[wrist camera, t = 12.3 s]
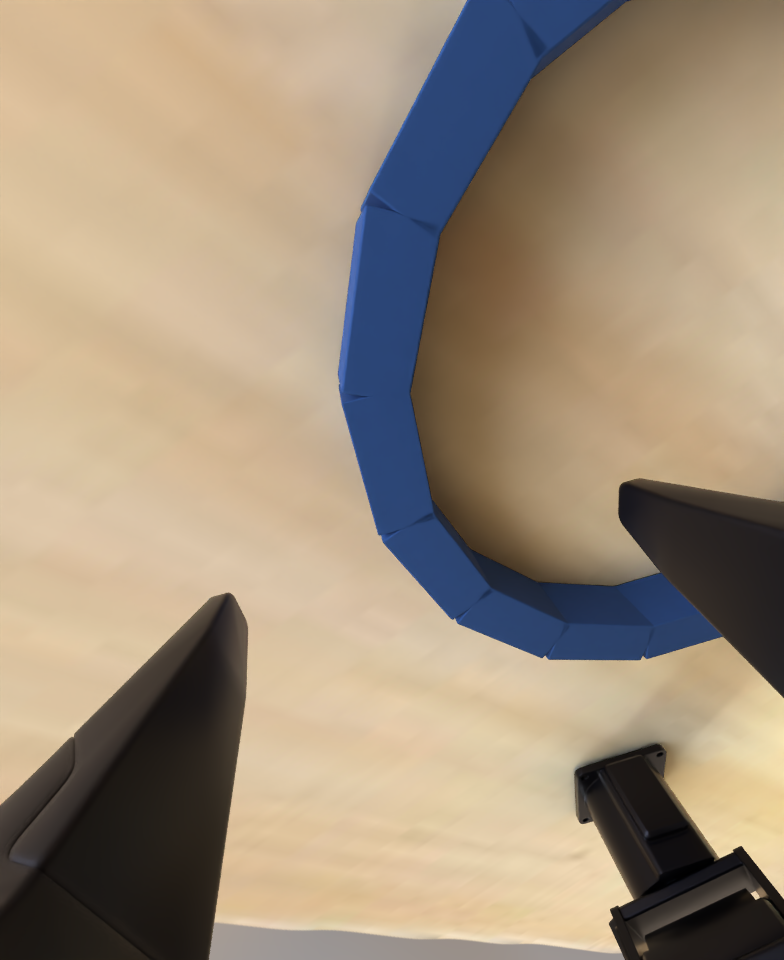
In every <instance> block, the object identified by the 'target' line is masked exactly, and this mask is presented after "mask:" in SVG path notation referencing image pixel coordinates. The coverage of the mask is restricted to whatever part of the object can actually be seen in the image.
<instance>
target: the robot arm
mask: <svg viewBox="0 0 784 960" xmlns="http://www.w3.org/2000/svg"><path fill="white" fill-rule="evenodd" d="M618 514H619V519H620V521H621V523H622V525H623V526H624V527H625V529H626V530H627V531H628V532H629V534H630V535H631V536H632V537H633V539H634V540H635V541H636V542H637V544H638V545H639V546H640V547H641V549H642V550H643V551H644V552H645V554H646V555H647V556H648V557H649V559H650V560H651V561H652V562H653V564H654V565H655V566H656V567H657V568H658V570H659V571H660V572H661V573H662V574H663V575H664V576H665V577H666V579H667V580H668V581H669V582H670V583H671V584H672V585H673V586H674V587H675V588H676V589H677V590H678V591H679V592H680V593H681V594H682V595H683V596H684V597H685V598H686V599H687V600H688V601H689V602H690V603H691V604H692V605H693V606H694V607H695V608H696V609H697V610H698V611H699V612H700V613H701V614H702V615H703V616H704V617H705V618H706V619H707V620H708V621H709V622H710V624H711V625H712V626H713V627H714V628H715V629H716V630H717V631H718V632H719V633H720V634H721V635H722V636H723V637H724V638H725V639H726V640H727V641H728V642H729V643H730V644H731V645H732V646H733V647H734V648H735V649H736V650H737V651H738V652H739V653H740V654H741V655H742V656H743V657H744V658H745V659H746V660H747V661H748V662H749V663H750V664H751V665H752V666H753V667H754V668H755V669H756V670H757V671H758V672H759V673H760V674H761V675H762V676H763V677H764V678H765V679H766V680H767V681H768V682H769V683H770V685H771V686H772V687H773V688H774V689H775V690H776V691H777V692H778V693H779V694H780V695H781V696H782V697H783V698H784V502H778V501H772V500H766V499H760V498H754V497H748V496H742V495H736V494H730V493H724V492H718V491H712V490H706V489H700V488H694V487H688V486H682V485H677V484H671V483H665V482H659V481H653V480H647V479H640V478H639V479H634V480H631V481H627V482H624V483H622V484H621V485H620V487H619V507H618ZM247 647H248V626H247V622H246V619H245V617H244V615H243V613H242V611H241V609H240V607H239V605H238V603H237V601H236V599H235V597H234V596H233V595H232V594H231V593H225V594H221V595H218V596H214V597H212V598H210V599H209V600H208V601H207V602H206V603H205V604H204V605H203V606H202V607H201V608H200V609H199V610H198V611H197V612H196V613H195V614H194V615H193V616H192V617H191V618H190V619H189V620H188V621H187V622H186V623H185V624H184V625H183V626H182V627H181V628H180V629H179V630H178V631H177V632H176V633H175V634H174V635H173V636H172V637H171V638H170V639H169V640H168V641H167V642H166V643H165V644H164V645H163V646H162V647H161V648H160V649H159V650H158V651H157V652H156V653H155V654H154V655H153V656H152V657H151V658H150V659H149V660H148V661H147V662H146V663H145V664H144V665H143V666H142V667H141V668H140V669H139V670H138V671H137V672H136V673H135V674H134V675H133V676H132V677H131V678H130V679H129V680H128V681H127V682H126V683H125V684H124V685H123V686H122V687H121V688H120V689H119V690H118V691H117V692H116V693H115V694H114V695H113V696H112V697H111V698H110V699H109V700H108V701H107V702H106V703H105V704H104V705H103V706H102V707H101V708H100V709H99V710H98V711H97V712H96V713H95V714H94V715H93V716H92V717H91V718H90V719H89V720H88V721H87V722H86V723H85V724H84V725H83V726H82V727H81V728H80V729H79V730H78V731H77V732H76V733H75V734H74V737H71V738H69V739H68V740H67V741H66V742H65V743H64V744H63V745H62V746H61V747H60V748H59V749H58V750H57V751H56V752H55V753H54V754H53V755H52V756H51V757H50V758H49V759H48V760H47V761H46V762H45V763H44V764H43V765H42V766H41V767H40V768H39V769H38V770H37V771H36V772H35V773H34V774H33V775H32V776H31V777H30V778H29V779H28V780H27V781H26V782H25V783H24V784H23V785H22V786H21V787H20V788H18V789H17V790H16V791H15V792H14V793H13V794H12V795H11V796H10V797H9V798H8V799H7V800H6V801H4V802H3V803H2V804H1V805H0V960H209V954H210V947H211V940H212V933H213V926H214V919H215V912H216V905H217V898H218V891H219V884H220V877H221V870H222V863H223V856H224V849H225V842H226V834H227V827H228V820H229V813H230V806H231V799H232V792H233V785H234V778H235V771H236V764H237V757H238V750H239V743H240V736H241V729H242V722H243V715H244V708H245V699H246V685H247ZM665 761H666V750H665V749H664V748H663V746H662V745H661V744H656V745H653V746H650V747H646V748H643V749H640V750H637V751H633V752H630V753H627V754H624V755H620V756H617V757H614V758H611V759H607V760H604V761H601V762H598V763H594V764H591V765H588V766H585V767H581V768H579V769H577V770H576V771H575V774H574V775H575V797H576V816H577V818H578V820H579V822H580V823H581V824H585V823H589V822H592V821H594V823H595V825H596V827H597V829H598V831H599V833H600V835H601V837H602V839H603V841H604V843H605V845H606V847H607V849H608V850H609V852H610V854H611V856H612V858H613V860H614V862H615V864H616V866H617V868H618V870H619V872H620V874H621V876H622V878H623V880H624V882H625V884H626V886H627V887H628V889H629V891H630V893H631V895H632V897H633V899H634V900H633V901H631V902H629V903H627V904H625V905H623V906H621V907H619V906H616V907H614V908H612V909H610V911H611V914H612V916H613V919H612V920H611V921H610V922H609V925H610V927H611V929H612V932H613V934H614V936H615V938H616V941H617V943H618V945H619V947H620V949H621V952H622V954H623V956H624V958H625V960H784V899H783V898H782V896H781V895H780V894H779V893H778V891H777V890H776V889H775V888H774V886H773V885H772V884H771V883H770V881H769V880H768V879H767V878H766V876H765V875H764V874H763V873H762V871H761V870H760V869H759V868H758V866H757V865H756V864H755V863H754V861H753V860H752V859H751V858H750V856H749V855H748V854H747V852H746V851H745V850H744V849H743V847H742V846H740V847H738V848H736V849H734V850H733V851H734V852H733V853H731V854H728V855H726V856H724V857H722V858H719V857H718V856H717V854H716V853H715V851H714V850H713V848H712V847H711V846H710V844H709V843H708V841H707V840H706V839H705V837H704V836H703V834H702V833H701V831H700V830H699V829H698V827H697V826H696V824H695V823H694V821H693V820H692V819H691V817H690V816H689V814H688V813H687V811H686V810H685V809H684V807H683V806H682V804H681V803H680V801H679V800H678V799H677V797H676V796H675V794H674V793H673V791H672V790H671V789H670V787H669V786H668V784H667V783H666V782H665V780H664V779H663V778H664V769H665ZM754 891H756V892H757V893H758V895H759V896H760V898H759V899H757V900H755V899H754V897H753V896H752V895H751V894H750V893H752V892H754Z"/></svg>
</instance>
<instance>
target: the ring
mask: <svg viewBox="0 0 784 960" xmlns="http://www.w3.org/2000/svg"><path fill="white" fill-rule="evenodd" d="M626 1H630V0H467V2H466V4H465V6H464V8H463V10H462V11H461V13H460V15H459V17H458V19H457V21H456V23H455V25H454V27H453V29H452V31H451V33H450V35H449V37H448V38H447V40H446V42H445V44H444V46H443V48H442V50H441V52H440V54H439V56H438V58H437V60H436V62H435V64H434V65H433V67H432V69H431V71H430V73H429V75H428V77H427V79H426V81H425V83H424V85H423V87H422V89H421V91H420V92H419V94H418V96H417V98H416V100H415V102H414V104H413V106H412V108H411V110H410V112H409V114H408V116H407V118H406V119H405V121H404V123H403V125H402V127H401V129H400V131H399V133H398V135H397V137H396V139H395V141H394V143H393V145H392V146H391V148H390V150H389V152H388V154H387V156H386V158H385V160H384V162H383V164H382V166H381V168H380V170H379V172H378V173H377V175H376V177H375V179H374V181H373V183H372V185H371V187H370V189H369V191H368V193H367V196H366V198H365V200H364V202H363V204H362V206H361V212H362V213H361V215H360V217H359V219H358V221H357V223H356V229H355V237H354V246H353V254H352V262H351V271H350V279H349V287H348V296H347V304H346V312H345V321H344V329H343V337H342V345H341V354H340V362H339V370H338V377H339V382H340V384H339V391H340V396H341V402H342V407H343V410H344V414H345V417H346V421H347V424H348V428H349V432H350V435H351V439H352V442H353V446H354V449H355V453H356V457H357V460H358V464H359V467H360V471H361V474H362V478H363V482H364V485H365V489H366V492H367V496H368V499H369V503H370V507H371V510H372V514H373V517H374V521H375V525H376V528H377V532H378V535H381V536H382V540H383V543H384V544H385V545H386V546H387V548H388V549H389V550H390V551H391V552H392V553H393V554H394V555H395V557H396V558H397V559H398V560H399V561H400V562H401V563H402V564H403V566H404V567H405V568H406V569H407V570H408V571H409V572H410V573H411V575H412V576H413V577H414V578H415V579H416V580H417V581H418V582H419V584H420V585H421V586H422V587H423V588H424V589H425V590H426V591H427V593H428V594H429V595H430V596H431V597H432V598H433V599H434V600H435V601H436V603H437V604H438V605H439V606H440V607H441V608H442V609H443V610H444V612H445V613H446V614H447V615H448V616H449V617H450V618H451V619H454V618H455V619H456V621H457V623H458V624H460V625H462V626H465V627H467V628H470V629H472V630H474V631H477V632H479V633H482V634H484V635H487V636H489V637H491V638H494V639H496V640H499V641H501V642H504V643H506V644H509V645H511V646H513V647H516V648H518V649H521V650H523V651H526V652H528V653H531V654H533V655H535V656H538V657H540V658H543V657H544V656H545V655H546V657H547V658H548V659H549V660H641V658H642V656H644V657H645V658H646V659H649V658H652V657H656V656H659V655H662V654H666V653H669V652H672V651H676V650H679V649H683V648H686V647H689V646H693V645H696V644H699V643H703V642H706V641H709V640H713V639H716V638H720V637H723V636H722V635H721V634H720V633H719V632H718V631H717V630H716V629H715V628H714V627H713V626H712V625H711V624H710V622H709V621H708V620H707V619H706V618H705V617H704V616H703V615H702V614H701V613H700V612H699V611H698V610H697V609H696V608H695V607H694V606H693V605H692V604H691V603H690V602H689V601H688V600H687V599H686V598H685V597H684V596H683V595H682V594H681V593H680V592H679V591H678V590H677V589H676V588H675V587H674V586H673V585H672V584H671V583H670V582H669V581H668V580H667V579H666V577H665V576H664V575H663V574H662V573H659V574H655V575H652V576H648V577H645V578H641V579H638V580H634V581H631V582H627V583H624V584H620V585H617V586H600V585H581V584H561V583H541V582H536V581H534V580H532V579H530V578H528V577H526V576H524V575H522V574H520V573H518V572H516V571H514V570H511V569H509V568H507V567H505V566H503V565H501V564H499V563H497V562H495V561H493V560H491V559H489V558H487V557H485V556H483V555H481V554H479V553H477V552H475V551H473V550H471V549H470V548H469V547H468V546H467V544H466V543H465V542H464V540H463V539H462V538H461V537H460V535H459V534H458V533H457V531H456V530H455V529H454V527H453V526H452V525H451V523H450V522H449V521H448V519H447V518H446V517H445V516H444V514H443V513H442V512H441V510H440V509H439V508H438V506H437V505H436V504H435V502H434V501H433V500H432V498H431V493H430V488H429V483H428V478H427V473H426V468H425V463H424V459H423V454H422V449H421V444H420V439H419V434H418V429H417V424H416V419H415V414H414V409H413V404H412V399H411V395H410V392H411V387H412V382H413V377H414V371H415V366H416V361H417V355H418V350H419V345H420V340H421V334H422V329H423V324H424V318H425V313H426V308H427V303H428V297H429V292H430V287H431V282H432V276H433V271H434V266H435V260H436V255H437V250H438V245H439V239H440V234H441V232H442V231H443V229H444V227H445V226H446V224H447V222H448V220H449V219H450V217H451V215H452V214H453V212H454V210H455V208H456V207H457V205H458V203H459V202H460V200H461V198H462V196H463V195H464V193H465V191H466V190H467V188H468V186H469V184H470V183H471V181H472V179H473V178H474V176H475V174H476V172H477V171H478V169H479V167H480V165H481V164H482V162H483V160H484V159H485V157H486V155H487V153H488V152H489V150H490V148H491V147H492V145H493V143H494V141H495V140H496V138H497V136H498V135H499V133H500V131H501V129H502V128H503V126H504V124H505V123H506V121H507V119H508V117H509V116H510V114H511V112H512V111H513V109H514V107H515V105H516V104H517V102H518V100H519V99H520V97H521V95H522V93H523V92H524V90H525V88H526V87H527V85H528V83H529V81H530V80H531V79H532V78H533V77H534V76H535V75H537V74H538V73H539V72H540V71H541V70H543V69H544V68H545V67H546V66H548V65H549V64H550V63H551V62H553V61H554V60H555V59H556V58H557V57H559V56H560V55H561V54H562V53H564V52H565V51H566V50H567V49H568V48H570V47H571V46H572V45H573V44H575V43H576V42H577V41H578V40H580V39H581V38H582V37H583V36H584V35H586V34H587V33H588V32H589V31H591V30H592V29H593V28H594V27H595V26H597V25H598V24H599V23H600V22H602V21H603V20H604V19H605V18H606V17H608V16H609V15H610V14H611V13H613V12H614V11H615V10H616V9H618V8H619V7H620V6H621V5H622V4H624V3H625V2H626Z"/></svg>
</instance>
